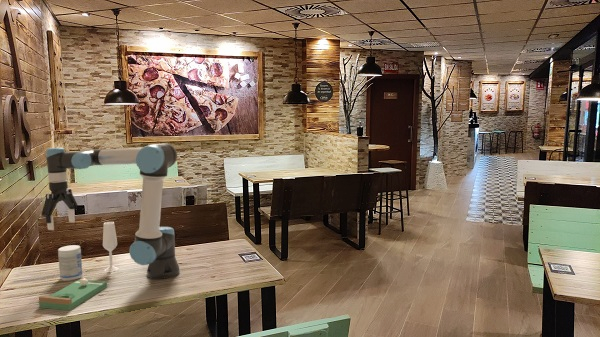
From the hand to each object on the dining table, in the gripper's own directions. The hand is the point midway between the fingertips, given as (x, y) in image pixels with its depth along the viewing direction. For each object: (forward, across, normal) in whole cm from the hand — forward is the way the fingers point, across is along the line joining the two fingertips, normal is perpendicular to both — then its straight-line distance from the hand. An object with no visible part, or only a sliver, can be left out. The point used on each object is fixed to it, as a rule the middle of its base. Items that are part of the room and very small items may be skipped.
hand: (61, 226), depth 204 cm
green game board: (+26, +18, +19) cm, 36 cm away
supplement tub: (+26, -1, +2) cm, 26 cm away
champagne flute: (+26, -14, +14) cm, 33 cm away
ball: (+22, +12, +19) cm, 31 cm away
